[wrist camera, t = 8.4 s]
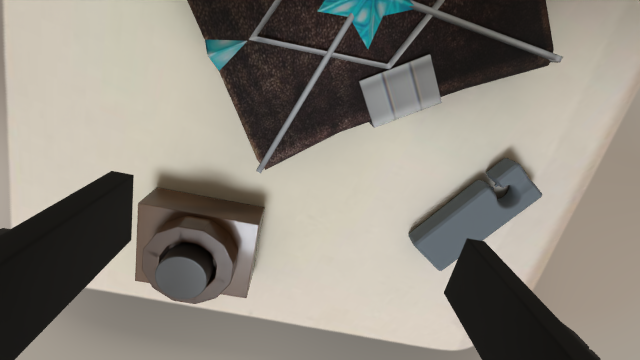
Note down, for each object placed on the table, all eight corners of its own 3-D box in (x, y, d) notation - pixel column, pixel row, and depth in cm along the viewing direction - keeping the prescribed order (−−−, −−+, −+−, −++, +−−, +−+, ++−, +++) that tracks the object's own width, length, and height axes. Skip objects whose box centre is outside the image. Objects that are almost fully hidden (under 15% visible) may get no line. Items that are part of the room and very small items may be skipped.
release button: (216, 247, 24) (209, 261, 23) (211, 287, 26) (204, 303, 24) (166, 239, 24) (155, 252, 22) (163, 280, 25) (153, 295, 24)
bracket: (406, 233, 30) (413, 245, 28) (505, 155, 28) (519, 162, 26) (432, 260, 31) (440, 273, 29) (529, 187, 29) (545, 196, 27)
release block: (264, 207, 28) (255, 236, 24) (252, 275, 31) (242, 314, 26) (156, 187, 28) (125, 213, 23) (152, 258, 30) (123, 295, 25)
